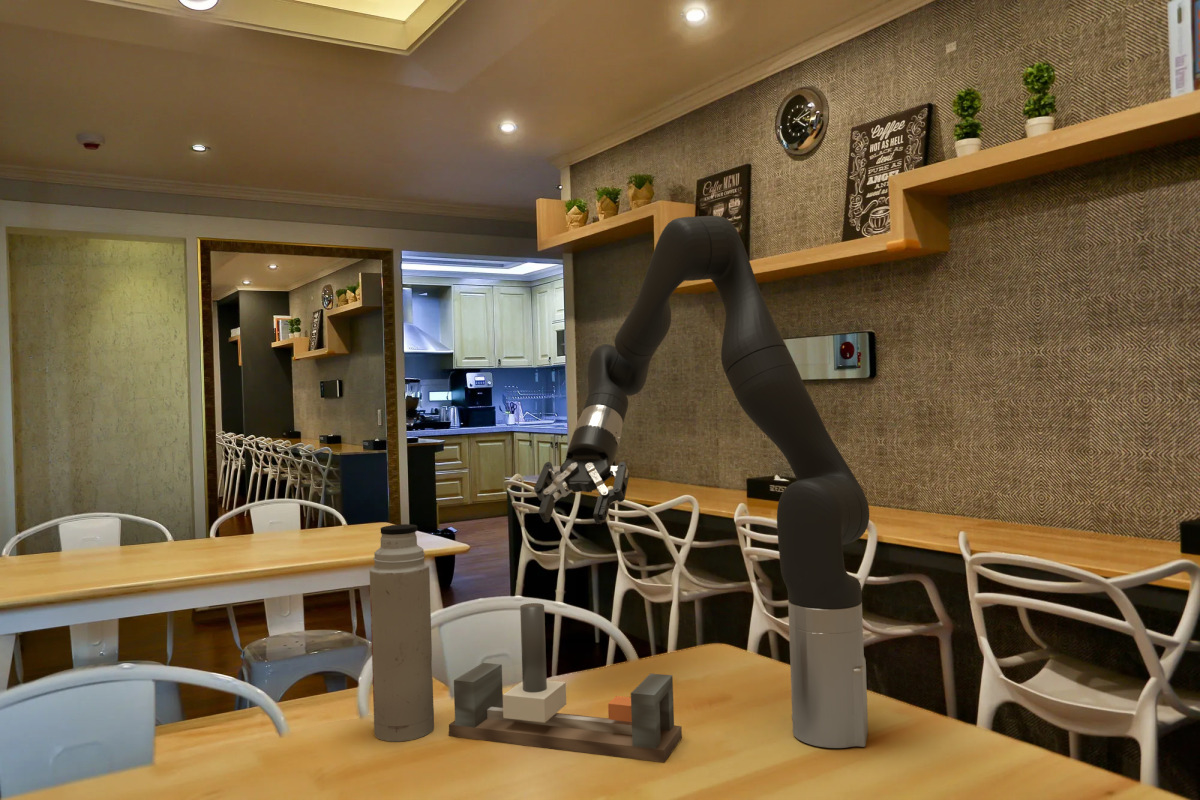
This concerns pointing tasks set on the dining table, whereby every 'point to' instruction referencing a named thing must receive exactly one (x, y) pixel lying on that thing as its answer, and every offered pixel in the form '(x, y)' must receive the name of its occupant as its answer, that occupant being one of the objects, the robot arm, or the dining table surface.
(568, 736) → the rail board
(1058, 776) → the dining table surface
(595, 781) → the dining table surface
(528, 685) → the carriage
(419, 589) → the thermos bottle
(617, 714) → the reset pin
